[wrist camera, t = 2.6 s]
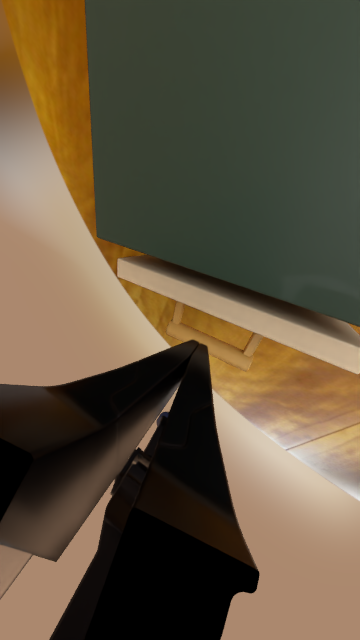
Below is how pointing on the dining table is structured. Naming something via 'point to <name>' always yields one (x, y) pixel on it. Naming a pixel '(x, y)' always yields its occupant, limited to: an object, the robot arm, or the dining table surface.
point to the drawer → (243, 315)
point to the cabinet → (232, 141)
